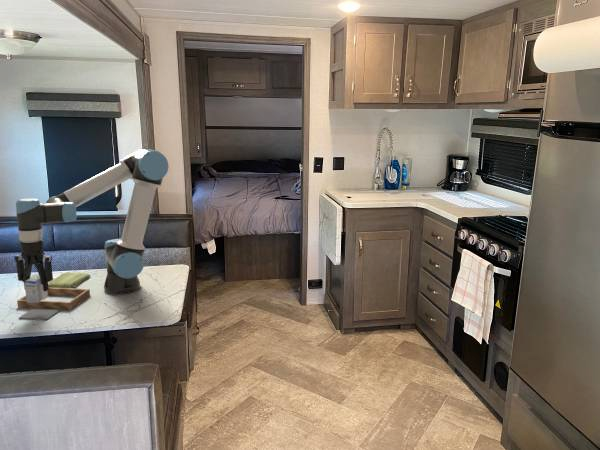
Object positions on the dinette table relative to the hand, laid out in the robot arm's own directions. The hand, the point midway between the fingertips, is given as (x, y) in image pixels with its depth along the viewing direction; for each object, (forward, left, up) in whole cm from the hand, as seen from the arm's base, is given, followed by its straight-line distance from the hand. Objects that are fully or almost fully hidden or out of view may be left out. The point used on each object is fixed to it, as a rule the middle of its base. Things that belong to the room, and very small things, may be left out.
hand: (37, 298), depth 172 cm
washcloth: (+9, -35, -8) cm, 37 cm away
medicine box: (0, 0, -1) cm, 1 cm away
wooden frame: (+2, -13, -7) cm, 15 cm away
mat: (0, 0, -7) cm, 7 cm away
